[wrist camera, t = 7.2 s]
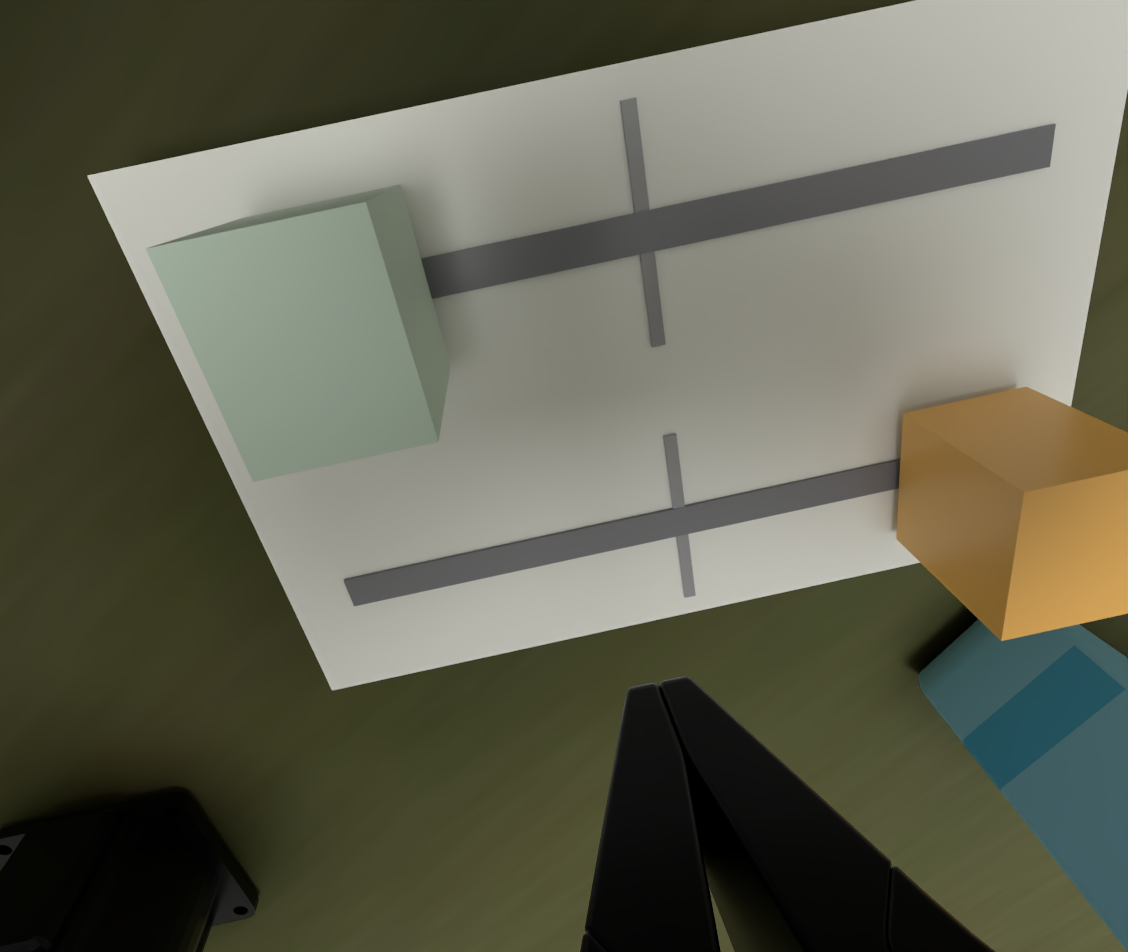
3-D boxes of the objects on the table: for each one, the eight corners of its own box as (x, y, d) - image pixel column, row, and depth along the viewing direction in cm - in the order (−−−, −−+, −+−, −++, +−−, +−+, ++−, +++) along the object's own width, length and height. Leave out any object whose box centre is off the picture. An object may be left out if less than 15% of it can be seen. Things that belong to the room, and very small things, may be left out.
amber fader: (1008, 514, 17) (1141, 610, 14) (895, 539, 17) (1000, 641, 14) (1026, 386, 16) (1183, 458, 12) (902, 412, 16) (1023, 492, 12)
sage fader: (450, 366, 14) (438, 441, 11) (311, 395, 14) (252, 482, 11) (400, 184, 12) (365, 201, 9) (242, 217, 12) (145, 248, 9)
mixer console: (998, 499, 20) (1050, 536, 18) (346, 641, 20) (331, 693, 18) (1068, -26, 14) (1157, -52, 12) (138, 171, 14) (84, 175, 12)
